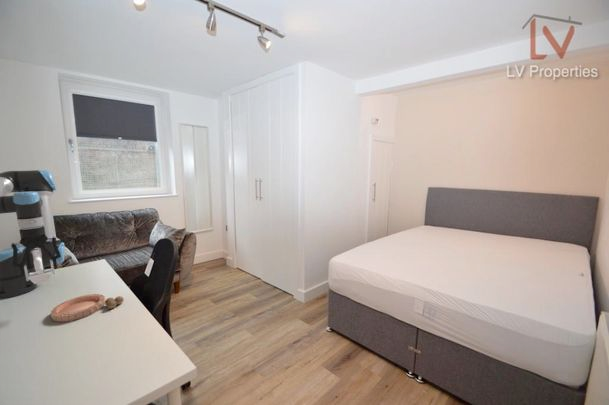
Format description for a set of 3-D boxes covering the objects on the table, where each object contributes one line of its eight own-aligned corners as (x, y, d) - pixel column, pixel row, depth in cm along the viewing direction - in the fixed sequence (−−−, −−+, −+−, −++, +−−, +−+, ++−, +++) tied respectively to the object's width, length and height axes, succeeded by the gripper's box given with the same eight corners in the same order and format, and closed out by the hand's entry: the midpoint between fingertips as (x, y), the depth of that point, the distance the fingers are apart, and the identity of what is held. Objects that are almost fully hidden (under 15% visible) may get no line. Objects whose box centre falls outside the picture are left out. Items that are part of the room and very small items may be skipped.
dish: (49, 311, 116) (48, 305, 115) (100, 295, 129) (100, 290, 129) (54, 328, 103) (52, 321, 103) (110, 308, 117) (109, 302, 117)
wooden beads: (104, 305, 120) (103, 298, 119) (121, 299, 125) (120, 292, 124) (108, 311, 115) (107, 303, 114) (126, 304, 120) (125, 297, 119)
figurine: (29, 287, 109) (23, 253, 107) (30, 280, 116) (24, 248, 114) (53, 281, 114) (47, 249, 112) (52, 275, 121) (47, 244, 119)
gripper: (-5, 233, 101) (6, 287, 105) (64, 224, 116) (72, 271, 120) (-5, 230, 106) (6, 282, 110) (62, 221, 121) (70, 267, 125)
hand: (40, 276), depth 115 cm, fingers closed on figurine, 7 cm apart
